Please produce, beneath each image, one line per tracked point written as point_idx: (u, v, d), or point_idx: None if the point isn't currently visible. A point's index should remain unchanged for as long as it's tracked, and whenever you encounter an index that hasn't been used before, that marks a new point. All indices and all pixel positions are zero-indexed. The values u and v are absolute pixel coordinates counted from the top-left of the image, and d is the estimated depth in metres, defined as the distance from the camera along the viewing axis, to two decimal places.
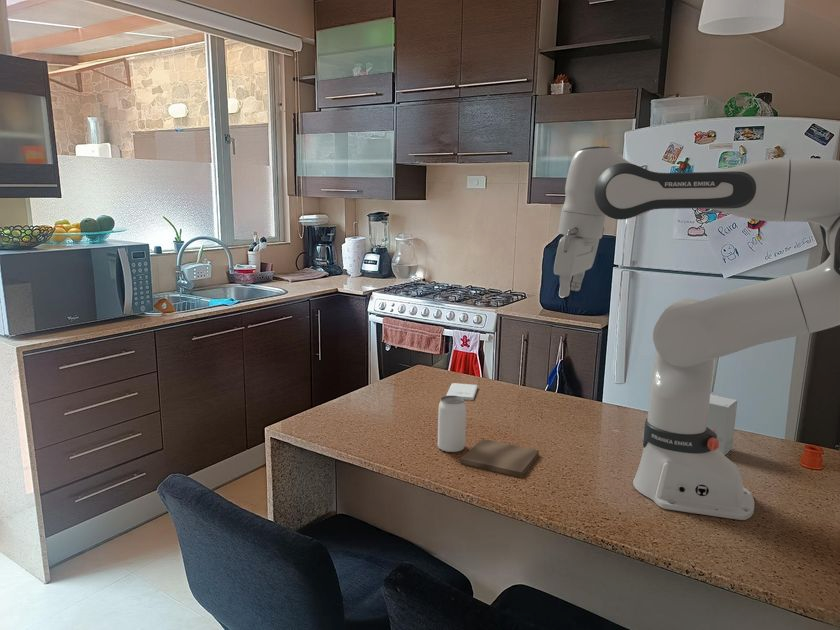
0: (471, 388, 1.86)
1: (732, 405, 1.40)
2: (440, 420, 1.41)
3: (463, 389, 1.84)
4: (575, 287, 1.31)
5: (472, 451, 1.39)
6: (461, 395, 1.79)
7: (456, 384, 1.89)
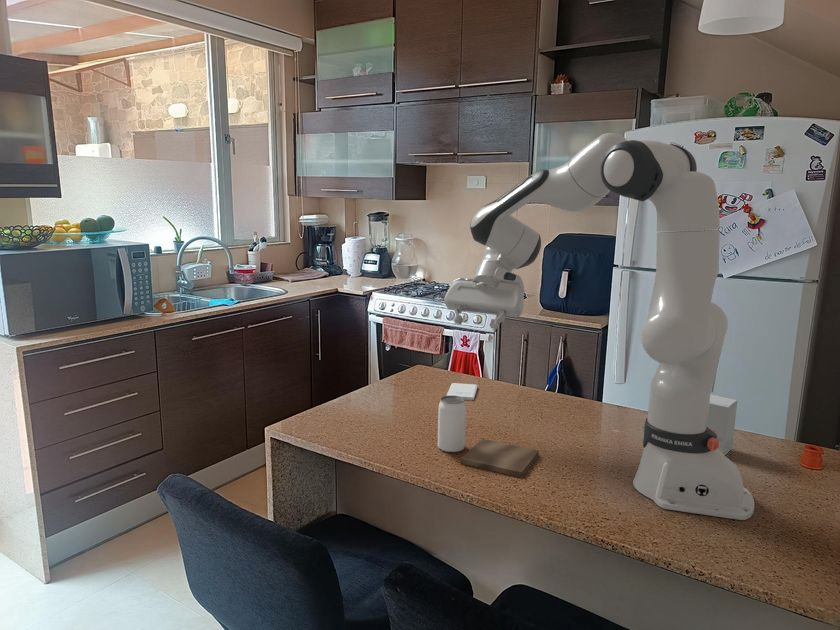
0: (471, 387, 1.86)
1: (732, 405, 1.40)
2: (440, 420, 1.41)
3: (463, 389, 1.84)
4: None
5: (472, 451, 1.39)
6: (461, 395, 1.79)
7: (456, 384, 1.89)
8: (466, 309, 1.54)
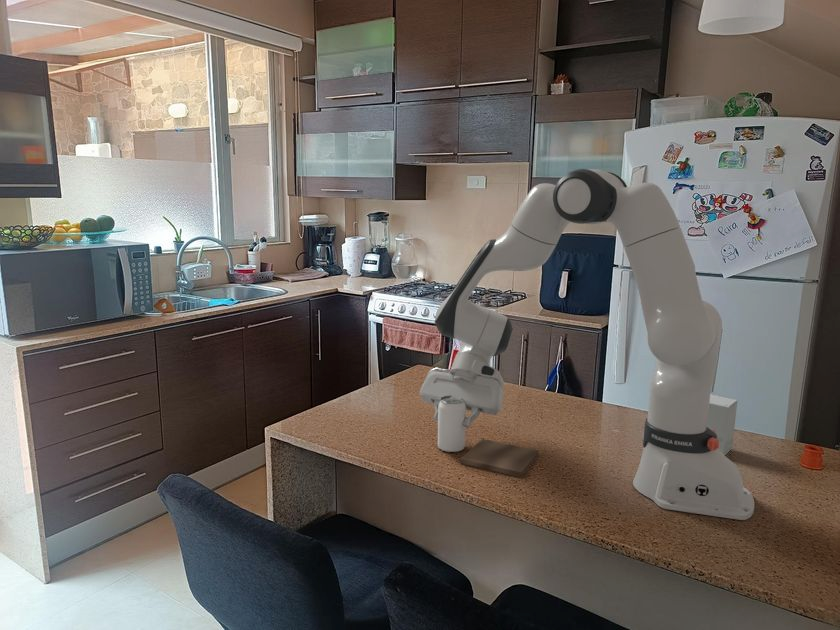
0: None
1: (732, 405, 1.40)
2: (440, 420, 1.41)
3: None
4: None
5: (472, 451, 1.39)
6: None
7: None
8: None
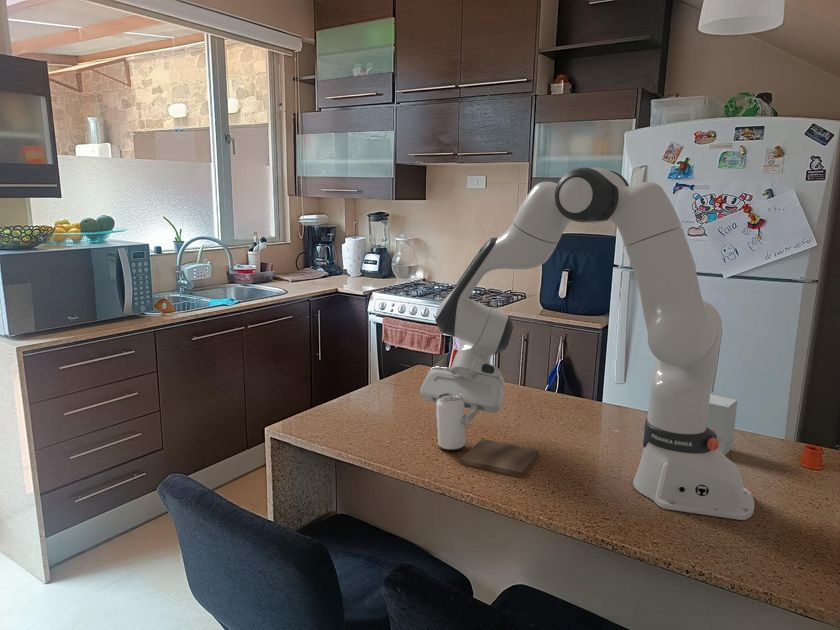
0: None
1: (732, 405, 1.40)
2: (439, 418, 1.41)
3: None
4: None
5: (472, 451, 1.39)
6: None
7: None
8: None
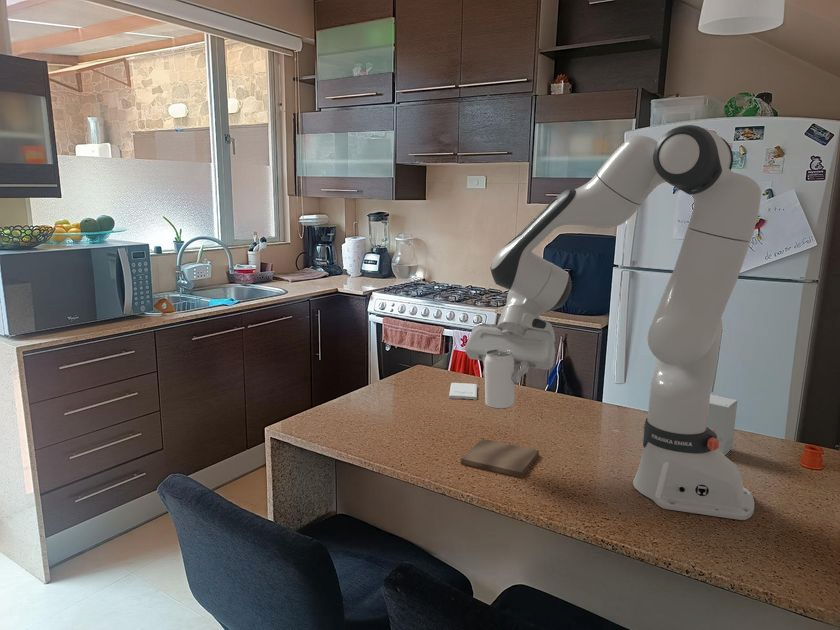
0: (472, 387, 1.87)
1: (732, 405, 1.40)
2: (487, 375, 1.32)
3: (464, 389, 1.85)
4: None
5: (472, 451, 1.39)
6: (464, 395, 1.79)
7: (456, 383, 1.90)
8: None
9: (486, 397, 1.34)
